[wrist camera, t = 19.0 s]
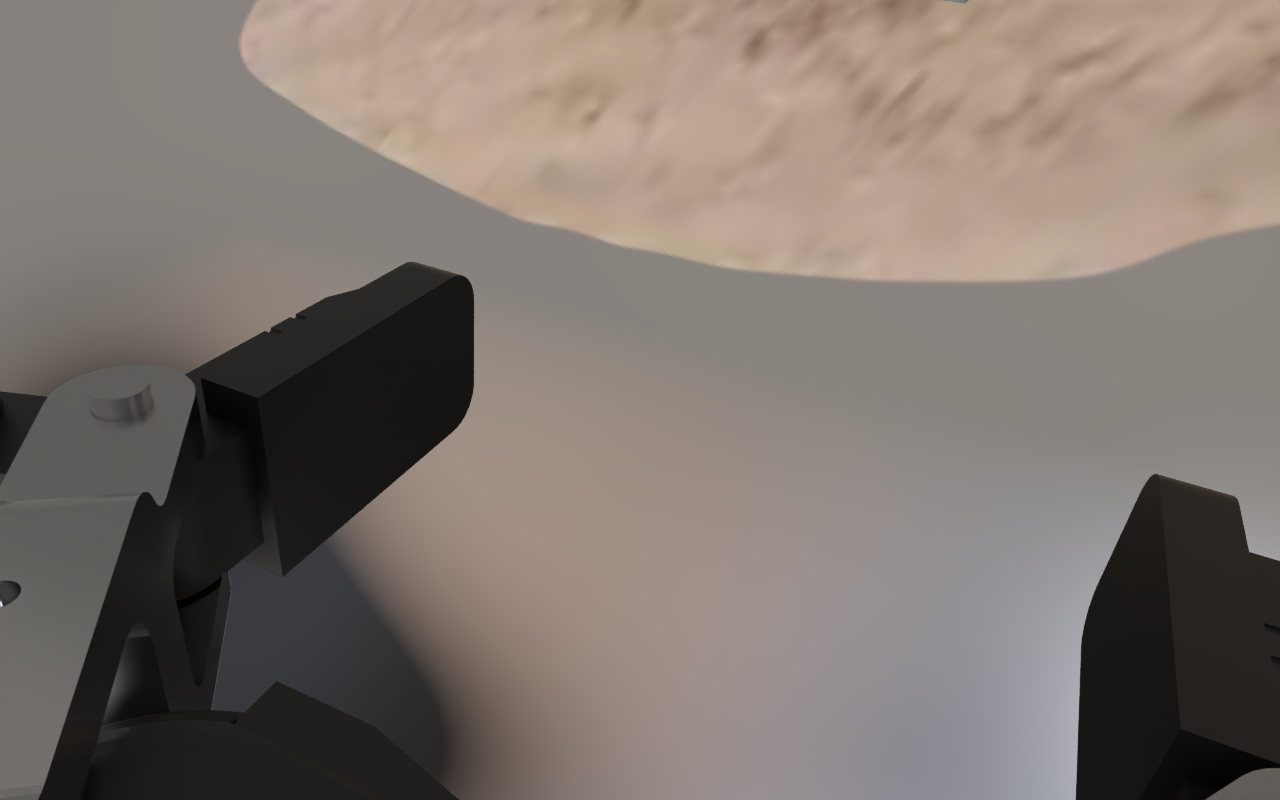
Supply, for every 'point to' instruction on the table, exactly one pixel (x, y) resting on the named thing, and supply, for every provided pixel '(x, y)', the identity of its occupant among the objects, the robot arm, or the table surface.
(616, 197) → the table surface
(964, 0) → the block
